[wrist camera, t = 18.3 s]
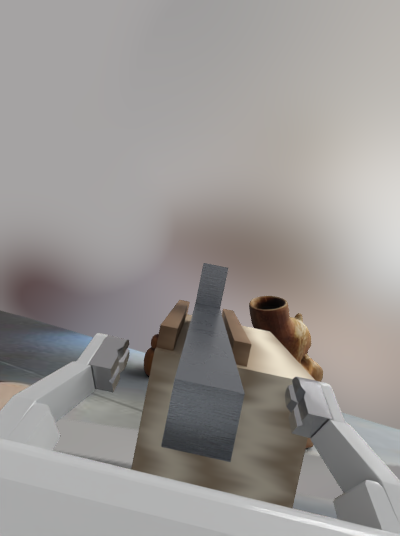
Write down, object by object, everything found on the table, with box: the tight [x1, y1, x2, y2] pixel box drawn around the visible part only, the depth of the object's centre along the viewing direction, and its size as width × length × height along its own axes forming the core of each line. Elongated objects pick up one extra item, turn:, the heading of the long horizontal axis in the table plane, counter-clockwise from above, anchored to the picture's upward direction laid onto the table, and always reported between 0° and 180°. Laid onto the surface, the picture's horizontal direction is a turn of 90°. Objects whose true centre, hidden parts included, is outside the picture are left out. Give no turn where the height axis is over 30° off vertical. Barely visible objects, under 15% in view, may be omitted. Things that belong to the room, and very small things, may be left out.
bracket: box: [161, 263, 245, 462], centre depth 19 cm, size 3×20×8 cm, turn 178°
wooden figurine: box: [144, 334, 159, 376], centre depth 62 cm, size 7×6×15 cm
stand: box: [131, 300, 314, 508], centre depth 25 cm, size 14×14×28 cm
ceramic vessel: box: [249, 296, 323, 448], centre depth 48 cm, size 16×22×30 cm
